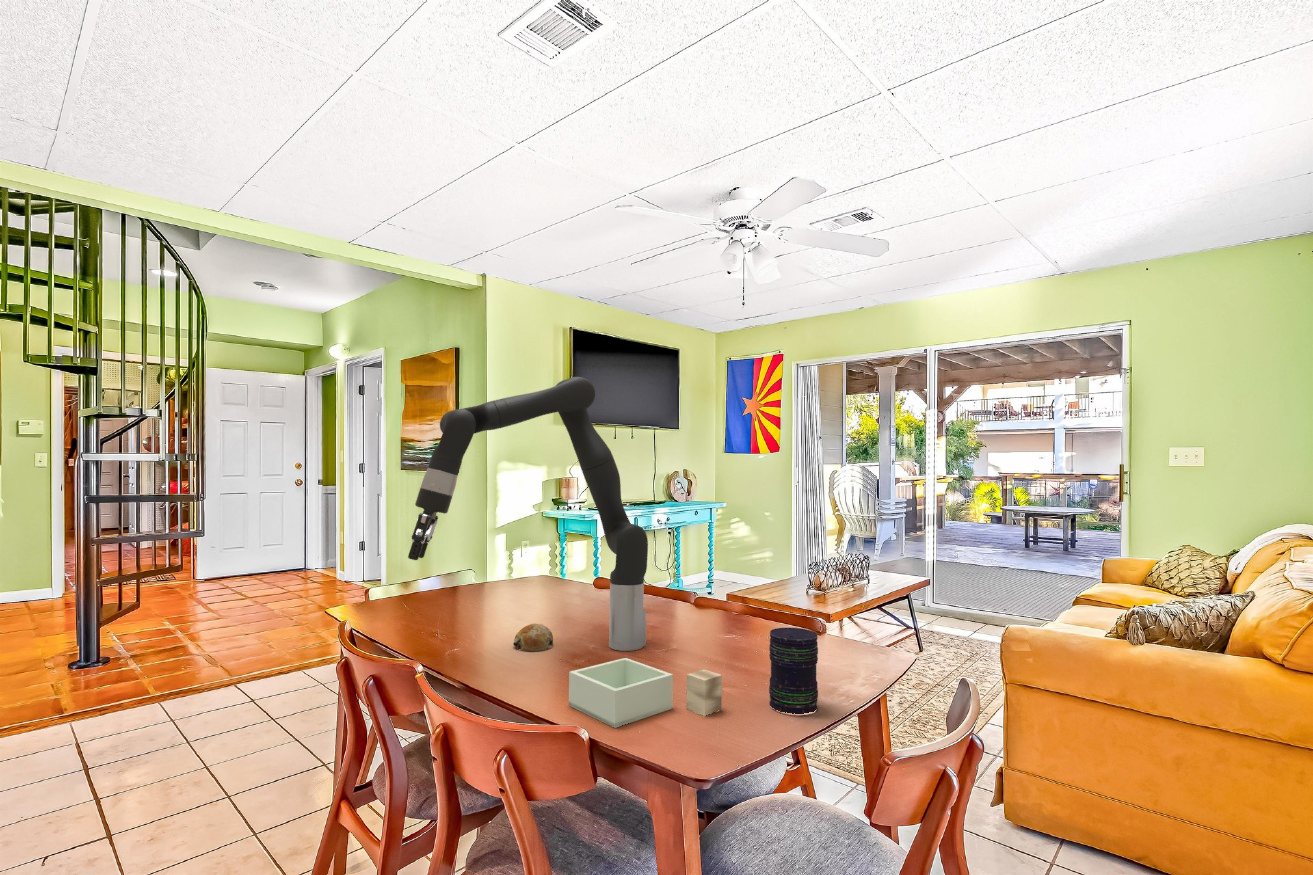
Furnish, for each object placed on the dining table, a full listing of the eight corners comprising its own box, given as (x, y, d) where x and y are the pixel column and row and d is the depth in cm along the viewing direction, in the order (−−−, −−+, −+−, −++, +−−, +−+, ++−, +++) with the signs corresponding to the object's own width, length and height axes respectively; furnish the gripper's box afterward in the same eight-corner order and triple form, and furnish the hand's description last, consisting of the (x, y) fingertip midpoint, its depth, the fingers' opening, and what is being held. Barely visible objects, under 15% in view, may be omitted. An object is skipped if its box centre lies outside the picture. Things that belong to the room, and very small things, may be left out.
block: (703, 703, 134) (703, 669, 135) (721, 710, 131) (721, 675, 131) (686, 709, 131) (686, 674, 131) (704, 716, 127) (704, 680, 128)
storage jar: (774, 695, 139) (775, 625, 140) (821, 702, 136) (821, 630, 136) (764, 711, 130) (764, 636, 131) (813, 719, 126) (813, 642, 127)
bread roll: (541, 666, 169) (555, 638, 170) (506, 648, 170) (520, 621, 170) (548, 655, 179) (561, 629, 179) (515, 638, 180) (528, 612, 180)
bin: (625, 689, 142) (625, 657, 143) (672, 708, 131) (672, 674, 132) (568, 705, 132) (569, 671, 132) (614, 728, 121) (615, 691, 121)
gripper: (449, 493, 146) (427, 564, 143) (455, 495, 160) (435, 560, 157) (416, 484, 145) (393, 556, 142) (425, 487, 159) (404, 552, 156)
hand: (415, 558), depth 150 cm, fingers open, 8 cm apart
